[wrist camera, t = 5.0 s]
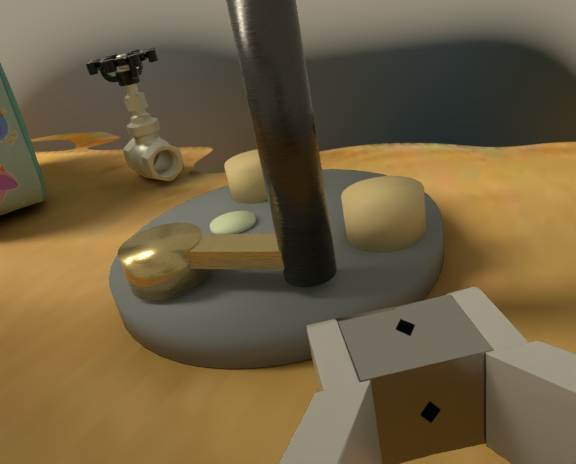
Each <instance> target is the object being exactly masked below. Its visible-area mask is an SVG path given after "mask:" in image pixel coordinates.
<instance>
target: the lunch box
mask: <svg viewBox="0 0 576 464" xmlns="http://www.w3.org/2000/svg"><path fill="white" fill-rule="evenodd" d="M45 199H46V188H45V184H44V180H43V176H42V173H41V169H40V167H39V164H38V161H37V158H36V155H35V152H34V149H33V146H32V143H31V140H30V137H29V134H28V131H27V128H26V125H25V123H24V120H23V118H22V115H21V112H20V110H19V107H18V105H17V102H16V100H15V97H14V95H13V92H12V89H11V87H10V85H9V82H8V80H7V77H6V75H5V73H4V70H3V68H2V66H1V64H0V216H1V215H3V214H6V213H9V212H12V211H15V210H17V209H20V208H23V207H27V206H30V205H32V204H34V203H41V202H42V201H45Z"/></svg>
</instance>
